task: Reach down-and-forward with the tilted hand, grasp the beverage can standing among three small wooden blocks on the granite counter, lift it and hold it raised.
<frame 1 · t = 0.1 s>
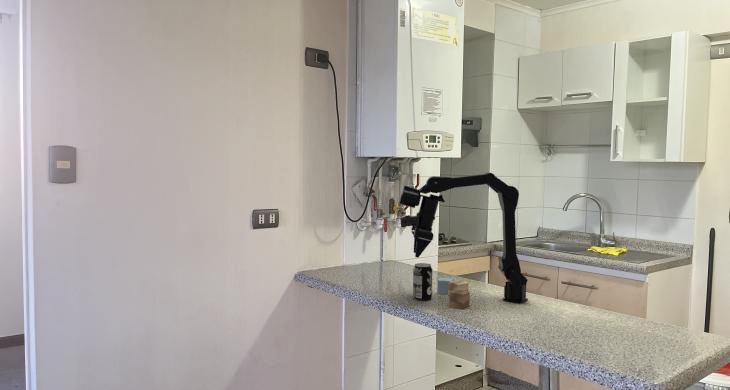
hand: (415, 255, 182), 15 cm above the countertop, tool pointing down, fingers open, 9 cm apart
slate block: (445, 292, 192), on the countertop
oak block: (458, 296, 187), on the countertop
walnut block: (459, 306, 173), on the countertop
beverage can: (422, 299, 183), on the countertop
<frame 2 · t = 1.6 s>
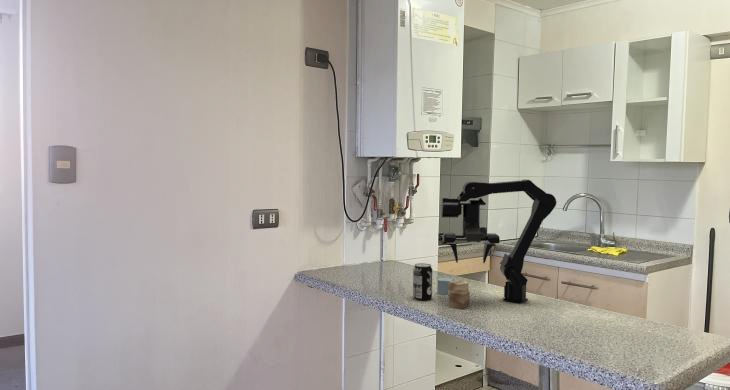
hand: (470, 262, 181), 13 cm above the countertop, tool pointing down, fingers open, 9 cm apart
nothing on the countertop moved.
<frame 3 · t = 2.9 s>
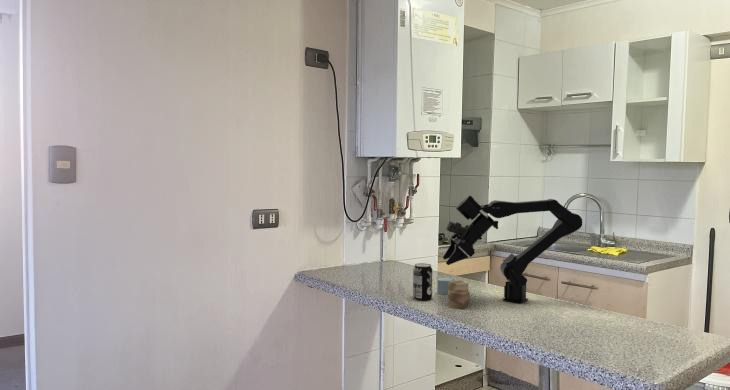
hand: (445, 261, 182), 13 cm above the countertop, tool tilted 45°, fingers open, 9 cm apart
nothing on the countertop moved.
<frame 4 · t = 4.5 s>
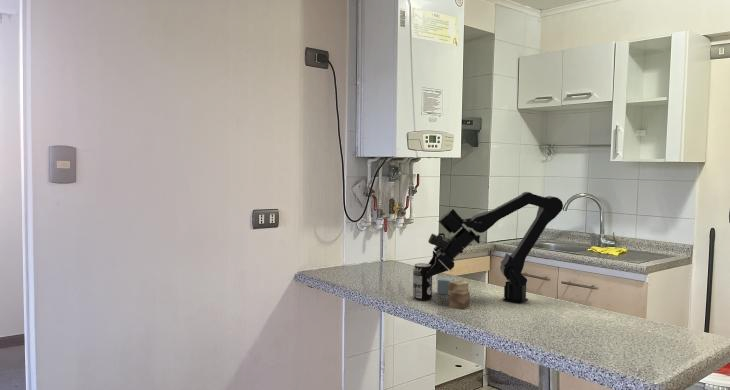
hand: (426, 273, 183), 9 cm above the countertop, tool tilted 45°, fingers open, 9 cm apart
nothing on the countertop moved.
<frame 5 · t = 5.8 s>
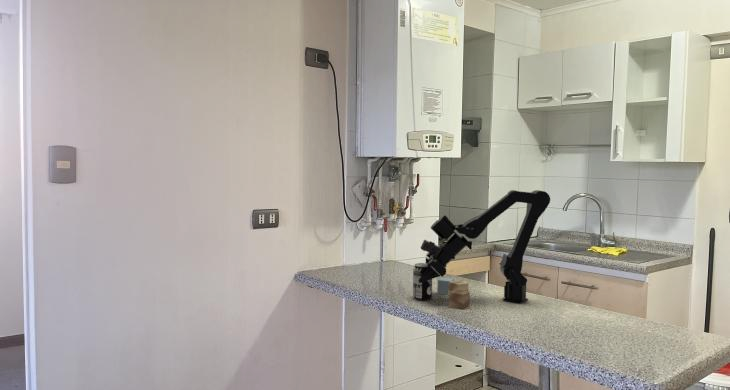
hand: (418, 279, 183), 7 cm above the countertop, tool tilted 45°, fingers closed on beverage can, 6 cm apart
beverage can: (422, 299, 183), on the countertop, touching gripper
everything else where it was.
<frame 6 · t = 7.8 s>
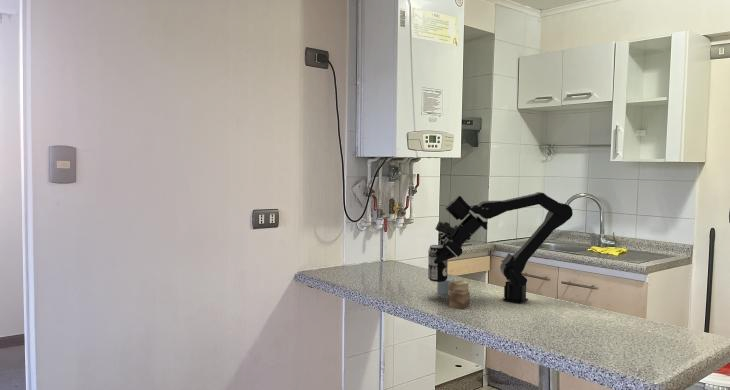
hand: (433, 261, 182), 13 cm above the countertop, tool tilted 45°, fingers closed on beverage can, 6 cm apart
beverage can: (437, 280, 183), point 6 cm above the countertop, touching gripper
everything else where it was.
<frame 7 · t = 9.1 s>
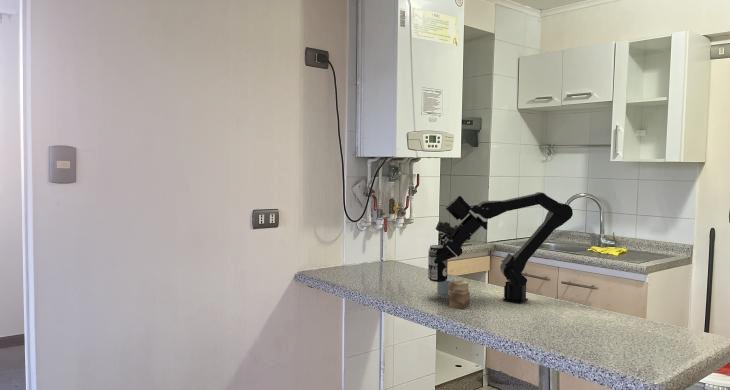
hand: (433, 261, 182), 13 cm above the countertop, tool tilted 45°, fingers closed on beverage can, 6 cm apart
beverage can: (437, 280, 183), point 6 cm above the countertop, touching gripper
everything else where it was.
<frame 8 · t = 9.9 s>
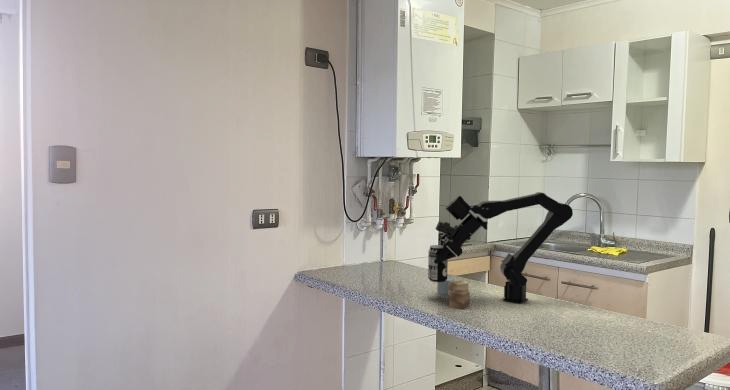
hand: (433, 261, 182), 13 cm above the countertop, tool tilted 45°, fingers closed on beverage can, 6 cm apart
beverage can: (437, 281, 183), point 6 cm above the countertop, touching gripper
everything else where it was.
at the end: the gripper is holding beverage can; beverage can touching gripper; oak block moved 0.1 cm from its start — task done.
